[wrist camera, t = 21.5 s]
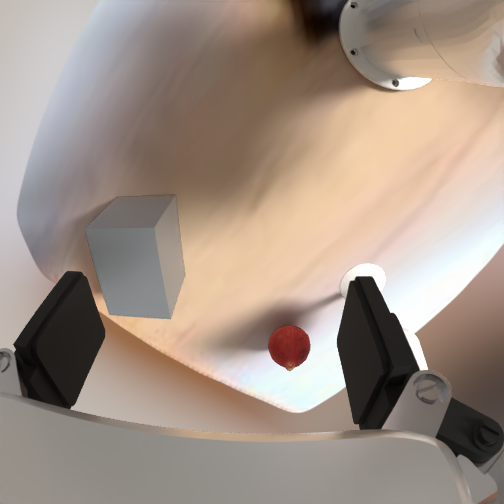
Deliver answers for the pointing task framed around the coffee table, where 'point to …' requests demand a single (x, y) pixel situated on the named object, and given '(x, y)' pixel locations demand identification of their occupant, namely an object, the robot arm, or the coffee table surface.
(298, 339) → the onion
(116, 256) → the grey rectangular box
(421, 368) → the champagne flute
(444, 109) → the coffee table surface
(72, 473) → the robot arm
